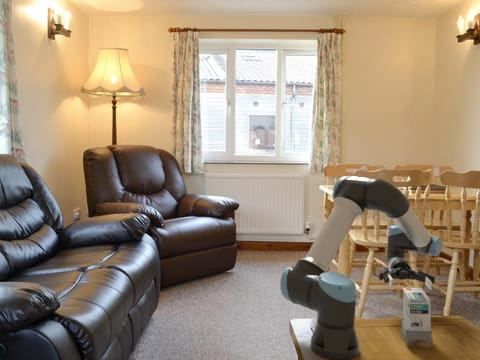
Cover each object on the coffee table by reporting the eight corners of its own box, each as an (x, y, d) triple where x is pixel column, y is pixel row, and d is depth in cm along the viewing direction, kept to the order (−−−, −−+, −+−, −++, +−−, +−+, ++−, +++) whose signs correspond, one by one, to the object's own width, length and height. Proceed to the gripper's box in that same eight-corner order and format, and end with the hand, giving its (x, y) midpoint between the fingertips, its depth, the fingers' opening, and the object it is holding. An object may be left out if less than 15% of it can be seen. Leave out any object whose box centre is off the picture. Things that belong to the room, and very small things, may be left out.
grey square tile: (405, 337, 147) (405, 329, 147) (401, 327, 155) (401, 318, 154) (431, 340, 146) (431, 331, 145) (426, 329, 153) (426, 321, 153)
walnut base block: (406, 346, 147) (407, 338, 147) (401, 335, 155) (401, 327, 155) (432, 348, 146) (432, 339, 146) (425, 337, 154) (425, 329, 154)
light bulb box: (431, 331, 144) (431, 299, 143) (409, 331, 145) (409, 299, 144) (422, 317, 155) (422, 287, 154) (402, 317, 156) (402, 287, 155)
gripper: (431, 279, 183) (446, 297, 162) (368, 274, 187) (375, 292, 166) (432, 261, 183) (448, 277, 162) (368, 257, 186) (376, 272, 165)
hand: (411, 284), depth 164 cm, fingers open, 13 cm apart
